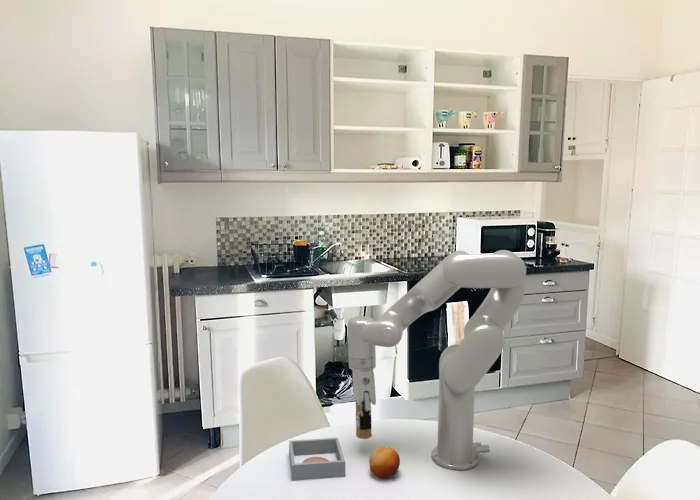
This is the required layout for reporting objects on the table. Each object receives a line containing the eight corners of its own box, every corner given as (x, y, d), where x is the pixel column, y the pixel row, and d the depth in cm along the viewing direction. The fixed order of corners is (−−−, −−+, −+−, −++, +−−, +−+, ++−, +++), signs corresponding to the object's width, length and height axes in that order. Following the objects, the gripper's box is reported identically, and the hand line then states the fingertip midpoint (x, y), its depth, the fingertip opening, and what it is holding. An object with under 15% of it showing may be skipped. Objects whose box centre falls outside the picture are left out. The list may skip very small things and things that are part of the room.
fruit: (405, 479, 130) (389, 451, 130) (378, 491, 132) (362, 464, 132) (408, 463, 138) (393, 437, 138) (382, 475, 140) (367, 449, 140)
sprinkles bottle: (355, 439, 145) (354, 392, 143) (356, 432, 149) (354, 386, 148) (372, 439, 144) (371, 392, 143) (372, 432, 149) (371, 386, 148)
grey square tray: (337, 451, 147) (337, 437, 147) (345, 476, 134) (345, 461, 133) (289, 454, 145) (289, 440, 144) (291, 480, 132) (291, 465, 131)
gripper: (382, 370, 137) (383, 437, 139) (369, 352, 154) (370, 412, 155) (354, 372, 136) (356, 439, 138) (344, 354, 152) (345, 414, 154)
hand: (363, 424), depth 146 cm, fingers closed on sprinkles bottle, 4 cm apart
